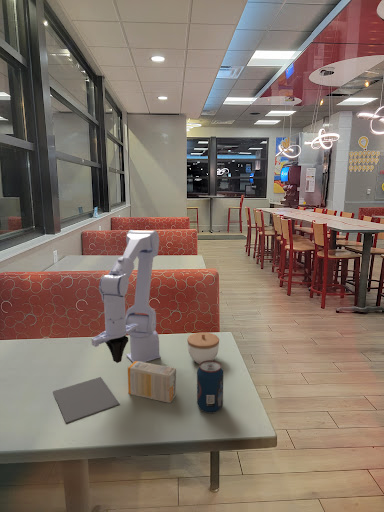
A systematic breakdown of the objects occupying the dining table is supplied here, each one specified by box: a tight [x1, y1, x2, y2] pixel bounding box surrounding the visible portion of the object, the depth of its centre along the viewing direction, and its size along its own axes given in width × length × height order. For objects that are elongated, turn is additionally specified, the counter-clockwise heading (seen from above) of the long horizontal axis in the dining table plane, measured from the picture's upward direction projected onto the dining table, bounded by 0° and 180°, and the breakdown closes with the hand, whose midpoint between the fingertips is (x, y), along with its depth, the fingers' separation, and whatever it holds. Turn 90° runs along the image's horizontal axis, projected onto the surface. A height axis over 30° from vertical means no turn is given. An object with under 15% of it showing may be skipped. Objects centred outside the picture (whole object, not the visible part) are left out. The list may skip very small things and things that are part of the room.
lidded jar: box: [186, 331, 220, 365], centre depth 116 cm, size 11×11×9 cm
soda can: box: [196, 359, 224, 414], centre depth 91 cm, size 7×7×12 cm
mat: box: [52, 376, 121, 424], centre depth 95 cm, size 14×16×1 cm
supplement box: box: [127, 361, 177, 404], centre depth 97 cm, size 8×5×13 cm
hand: (117, 361), depth 99 cm, fingers closed
